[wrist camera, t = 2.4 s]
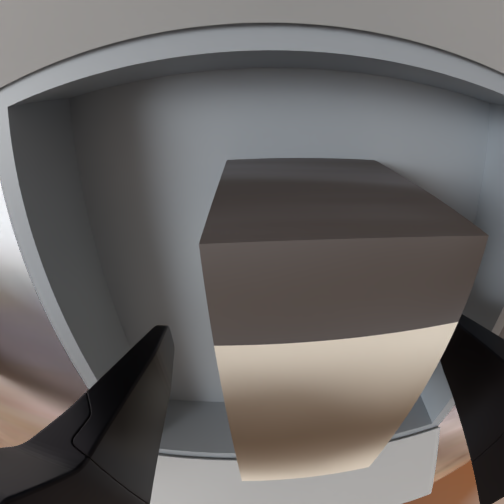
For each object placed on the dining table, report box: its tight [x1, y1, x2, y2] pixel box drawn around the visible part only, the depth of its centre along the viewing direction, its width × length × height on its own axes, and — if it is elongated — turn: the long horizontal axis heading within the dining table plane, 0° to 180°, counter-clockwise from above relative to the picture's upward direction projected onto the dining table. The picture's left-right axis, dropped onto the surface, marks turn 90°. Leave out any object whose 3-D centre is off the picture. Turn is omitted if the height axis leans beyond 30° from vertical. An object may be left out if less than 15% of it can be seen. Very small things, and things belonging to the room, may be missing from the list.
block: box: [199, 158, 489, 481], centre depth 9 cm, size 10×5×6 cm, turn 2°
